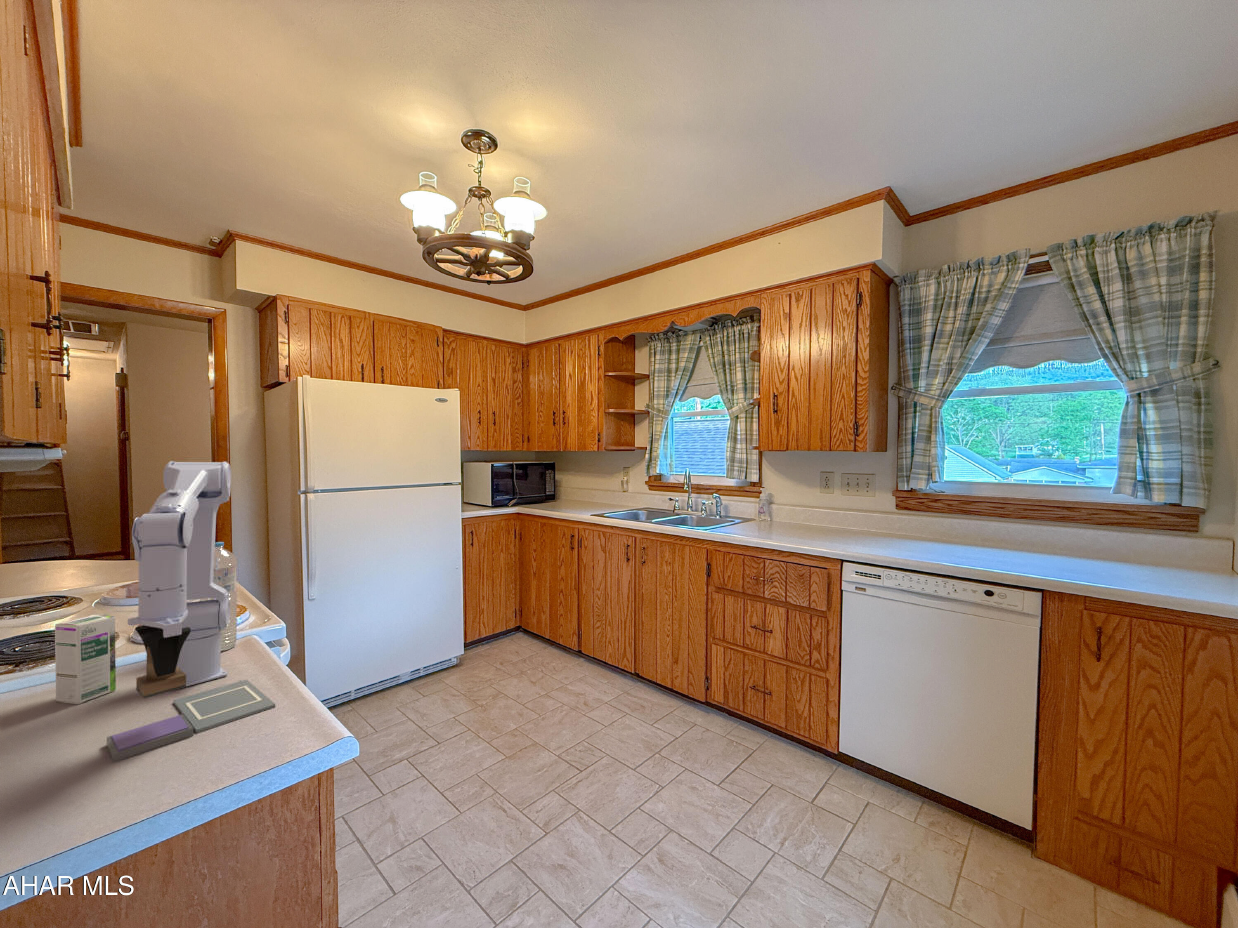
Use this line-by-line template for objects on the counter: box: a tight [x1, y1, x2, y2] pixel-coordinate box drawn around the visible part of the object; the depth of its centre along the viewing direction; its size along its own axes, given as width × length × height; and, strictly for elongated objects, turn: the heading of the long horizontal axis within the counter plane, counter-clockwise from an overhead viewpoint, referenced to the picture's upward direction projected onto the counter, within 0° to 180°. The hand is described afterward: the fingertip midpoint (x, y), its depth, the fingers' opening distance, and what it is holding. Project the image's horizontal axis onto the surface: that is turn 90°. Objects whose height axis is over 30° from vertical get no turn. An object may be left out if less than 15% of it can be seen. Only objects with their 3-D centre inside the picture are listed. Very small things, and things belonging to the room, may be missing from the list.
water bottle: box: [198, 541, 238, 653], centre depth 115 cm, size 7×7×25 cm
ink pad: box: [106, 713, 194, 763], centre depth 78 cm, size 7×9×1 cm
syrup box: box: [54, 614, 117, 705], centre depth 92 cm, size 6×6×14 cm
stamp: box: [135, 647, 187, 700], centre depth 79 cm, size 5×5×7 cm
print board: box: [173, 679, 276, 734], centre depth 89 cm, size 16×11×1 cm
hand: (162, 670), depth 79 cm, fingers closed on stamp, 3 cm apart
